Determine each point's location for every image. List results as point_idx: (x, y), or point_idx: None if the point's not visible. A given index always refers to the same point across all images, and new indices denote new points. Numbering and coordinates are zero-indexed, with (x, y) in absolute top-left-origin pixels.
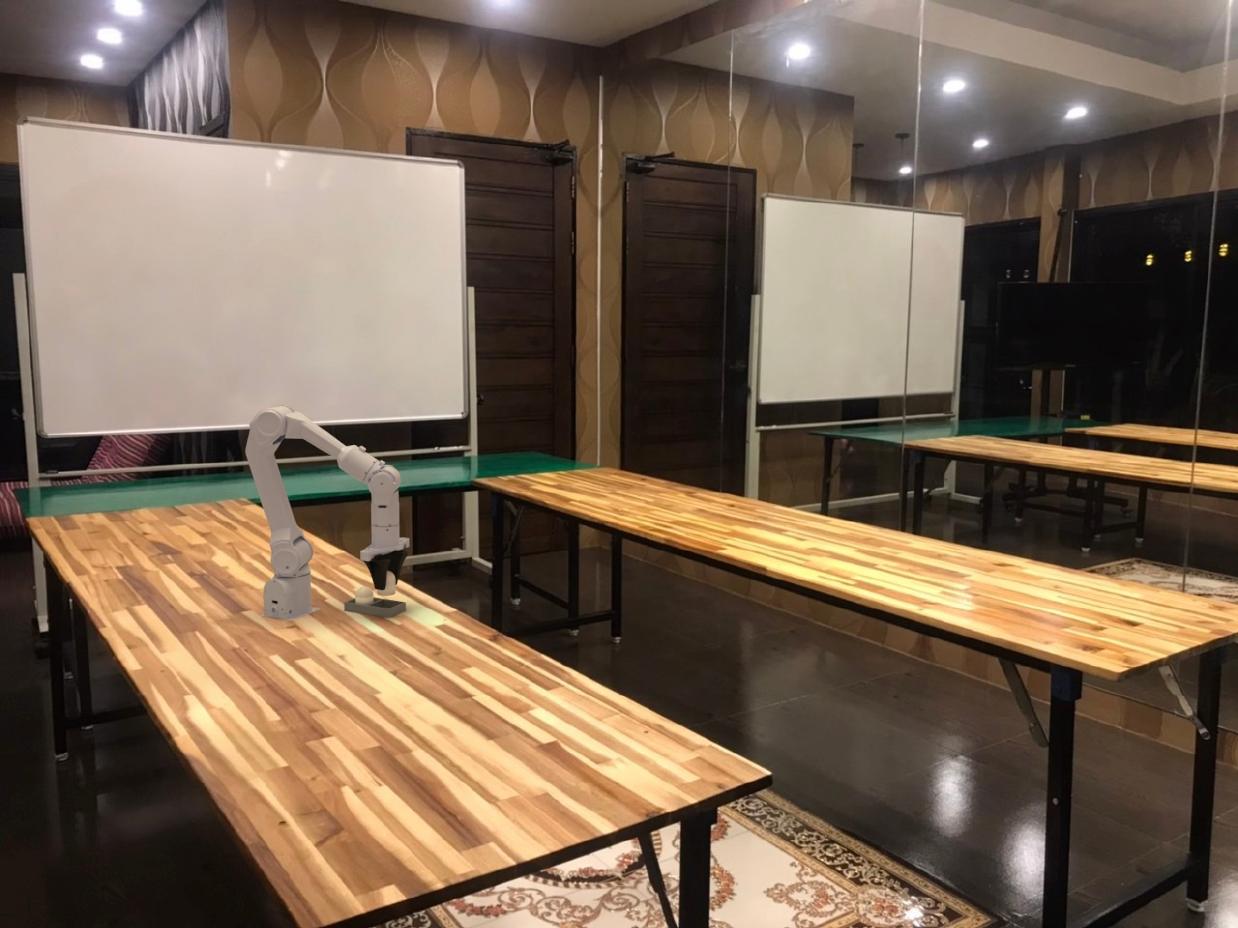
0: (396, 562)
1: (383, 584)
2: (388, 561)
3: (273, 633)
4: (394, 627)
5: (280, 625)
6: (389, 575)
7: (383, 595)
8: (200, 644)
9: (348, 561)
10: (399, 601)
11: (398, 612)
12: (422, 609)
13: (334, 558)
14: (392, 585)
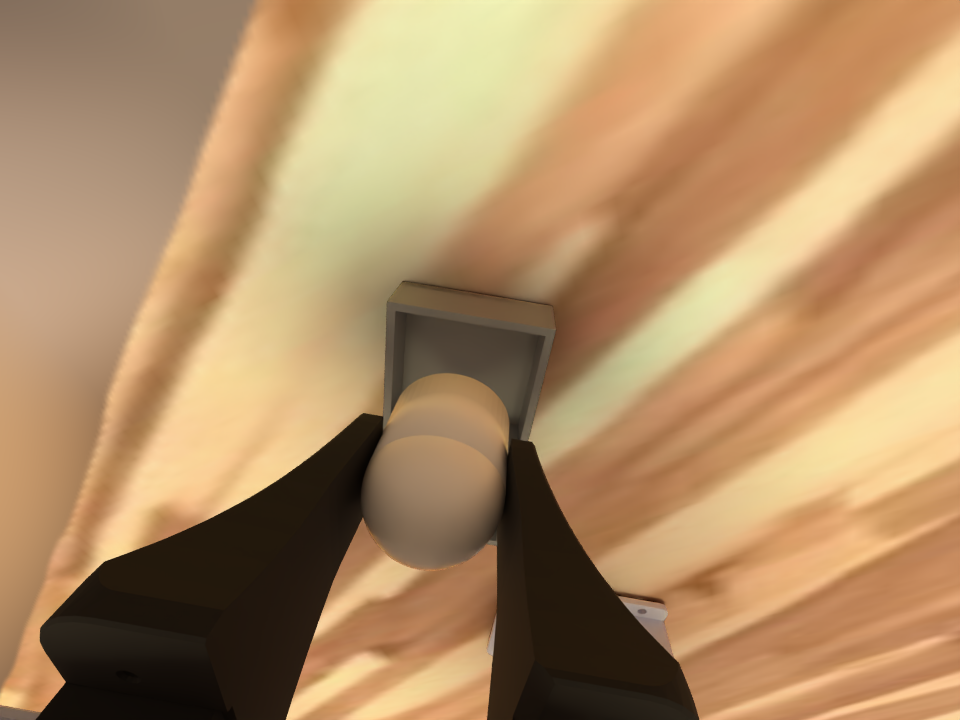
0: (296, 565)
1: (541, 467)
2: (579, 656)
3: (787, 606)
4: (663, 226)
5: (693, 614)
6: (457, 495)
7: (508, 419)
8: (900, 703)
9: (29, 655)
10: (389, 341)
11: (468, 298)
12: (306, 221)
13: (41, 683)
14: (462, 417)
